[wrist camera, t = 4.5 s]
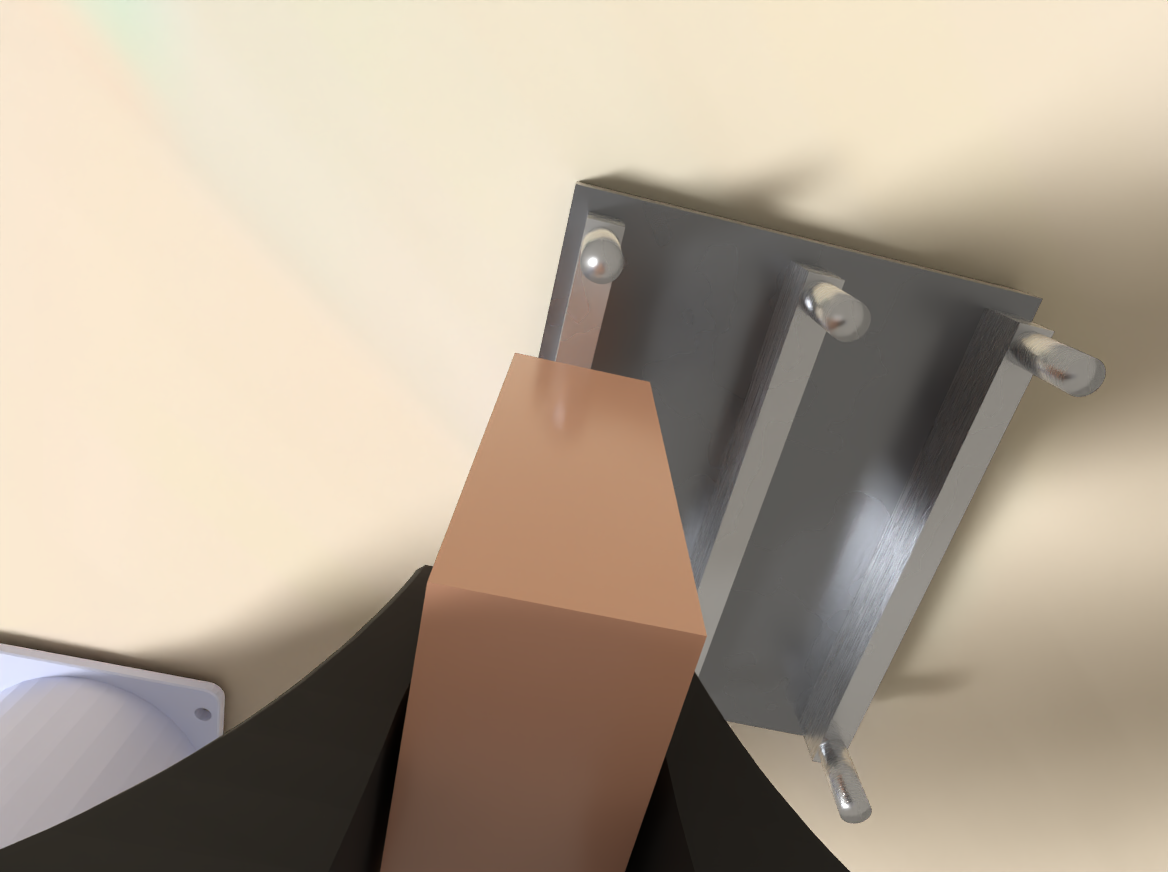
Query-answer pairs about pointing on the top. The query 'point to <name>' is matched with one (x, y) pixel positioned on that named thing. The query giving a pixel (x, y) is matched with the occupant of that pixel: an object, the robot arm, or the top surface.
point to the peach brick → (549, 638)
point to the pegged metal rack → (802, 436)
